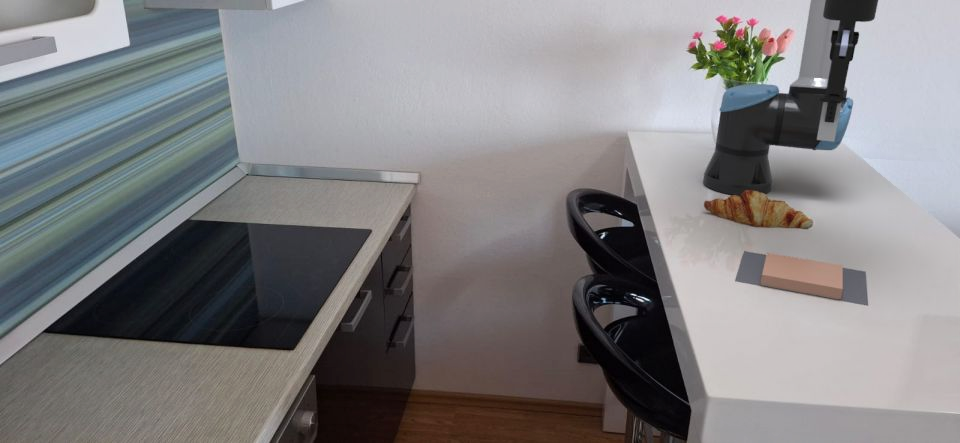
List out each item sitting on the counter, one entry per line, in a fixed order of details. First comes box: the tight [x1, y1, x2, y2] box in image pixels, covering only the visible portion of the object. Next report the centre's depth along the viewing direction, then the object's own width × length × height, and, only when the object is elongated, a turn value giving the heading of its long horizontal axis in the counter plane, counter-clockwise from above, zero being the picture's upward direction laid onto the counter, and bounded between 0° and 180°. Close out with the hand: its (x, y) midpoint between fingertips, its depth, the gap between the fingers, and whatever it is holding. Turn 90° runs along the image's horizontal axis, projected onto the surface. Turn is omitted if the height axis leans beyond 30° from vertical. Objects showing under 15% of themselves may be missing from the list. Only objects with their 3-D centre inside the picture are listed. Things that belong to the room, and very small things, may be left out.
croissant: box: [703, 190, 814, 230], centre depth 151 cm, size 21×10×8 cm, turn 66°
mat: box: [734, 250, 869, 307], centre depth 126 cm, size 14×20×1 cm
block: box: [760, 252, 844, 301], centre depth 124 cm, size 2×12×10 cm
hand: (825, 139), depth 126 cm, fingers closed
